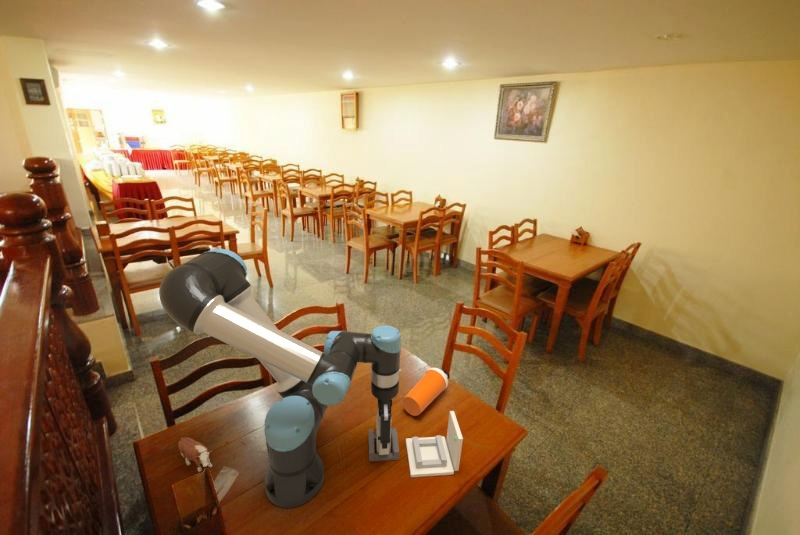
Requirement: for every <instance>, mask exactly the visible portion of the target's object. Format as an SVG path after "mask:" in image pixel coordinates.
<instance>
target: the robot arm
mask: <svg viewBox="0 0 800 535" xmlns="http://www.w3.org/2000/svg"><path fill="white" fill-rule="evenodd" d="M247 271H248V269H247V265H246V262H245V261H244V260H243V258H242V257H241V256H239V255H238V254H237V253H236V252H235V251H232V250H229V249H224V248H214V249H211V250H208V251H204V252H202V253H200V254H199V255H198V256H195V257H193V258H192V259H190V260H188V261H186V262H184V263H182V264H181V265H178V266H176V267H174V268H172V269H171V270H169V271H168V272H167V273H166V274H165V275H164V277H163V278H162V280H161V282H160V284H159V289H158V290H159V291H158V294H159V302H160V304H161V306H162V309H163V310H164V312H165V313H166V314H167V315H168V316H169V317H170V319H172V320H173V322H175V324H176V323H177V325H179V326H180V327H182V328H184V329H185V330H186V331H187V330H188V331H189V332H192V333H194V334H196V335H200V334H203V333H204V334H207V335H209V336H210V337H212V338H215V339H217V340H219V341H221V342H223V343H225V344H227V345H229V346H231V347H233V348H235V349H237V350H238V351H239V350H240V351H241V352H243V353H245V354H247V355H249V356H251V357H253V358H255V359H257V360H258V361H259V362H260V363H261V365H262V366H264V368H265V369H266V370H267V371H268V373H269V374H270V375H271V376H272V377H273V379H274V380H275V381H276V386H275V387H276V391H277V392H276V393H278V394H279V396H280V397H281V401H276V402H274V403H273V404H272V405H271V406H270V408H269V410H268V411H267V412H266V415H265V418H264V427H263V430H264V431H263V432H264V437H265V444H266V448H267V451H266V452H267V456H268V466H267V470H266V473H265V476H264V489H265V494H266V497H267V499H268V500H269V502H270V503H272V504H273V505H275V506H277V507H279V508H284V509H285V508H286V509H291V508H296V507H300V506H303V505H305V504H306V503H308V502H309V501H311V500H312V499H314V497H315V496H317V494H319V491H320V490H321V489H322V487H323V484H324V480H325V467H324V463H323V461H322V459H321V457H320V456H319V454H318V452H317V448H316V446H317V444H316V436H317V432H318V430H319V428H320V425H321V421H322V420H323V418H324V415H325V413H326V410H327V408H328V406H336V405H338V404H340V403H341V402H342V401H344V399H345V398H346V396H347V393H348V390H349V389H350V388H351V384H352V380H353V378H354V374H355V372H356V369H357V366H358V363H364V364H371V369H370V370H371V371H370V372H371V374H370V379H371V381H370V382H371V384H370V385H371V387H370V392H371V394H372V395H373V397H374V398H376V399H377V408H378V412H379V416H380V437H378V440H380V442H379V455H386V454H389V443H390V424H391V421H392V406H393V399H395V398H396V396H397V395H398V394H399V387H400V386H399V385H400V380H399V379H400V373H402V369H401V368H400V363H401V350H402V349H401V348H402V344H401V340H402V338H401V333H400V331H399V330H398V328H396V327H394V326H391V325H386V324H385V325H378V326H376V327H374V329H373V330H372V331H371V333H363V332H356V331H355V332H354V331H347V330H331V331H329V332H328V333H327V336H326V338H325V341H324V347H323V352H322V351H321V350H318V348H315V347H313V346H311V345H309V344H307V343H305V342H303V341H301V340H299V339H298V338H296V337H293V336H291V335H290V334H287V333H285V332H284V331H282V330H279V329H278V327H277V325H275V323H274V322H273V321H272V320H271V318H270V317H269V315H268V314H267V313H266V312H265V310H263V308H262V307H261V306H260V304H259V303H258V302H257V300H255V298H254V297H253V296H252V294H251V293H252V292H251V291H252V285H251V283H250V282H249V281H248V279H247V276H248V272H247ZM381 411H382V412H381Z"/></svg>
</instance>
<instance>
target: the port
mask: <svg viewBox="0 0 800 535" xmlns="http://www.w3.org/2000/svg"><path fill="white" fill-rule="evenodd" d="M463 441H464V437H463V434H462V432H461V429H460V426H459V422H458V420H457V416H456V413H455V411H454V410H449V416H448V423H447V432H446V437H445V436H443V435H440V434H438V435H435V436H428V437H426V436H425V437H419V436H412V437H411V438H408V437H407V438H405V446H406V454H407V459H408V465H409V473H410V478H421V477H434V476H436V477H437V476H449V475H454V473H455V472H458V471H460V470H459V468H460V464H461V462H460V460H461V456H462V448H463Z"/></svg>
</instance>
